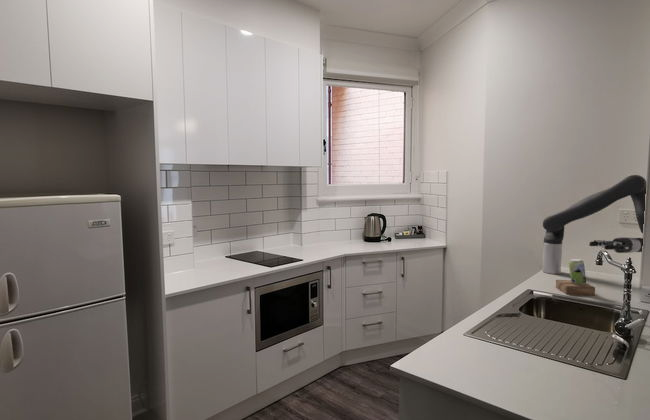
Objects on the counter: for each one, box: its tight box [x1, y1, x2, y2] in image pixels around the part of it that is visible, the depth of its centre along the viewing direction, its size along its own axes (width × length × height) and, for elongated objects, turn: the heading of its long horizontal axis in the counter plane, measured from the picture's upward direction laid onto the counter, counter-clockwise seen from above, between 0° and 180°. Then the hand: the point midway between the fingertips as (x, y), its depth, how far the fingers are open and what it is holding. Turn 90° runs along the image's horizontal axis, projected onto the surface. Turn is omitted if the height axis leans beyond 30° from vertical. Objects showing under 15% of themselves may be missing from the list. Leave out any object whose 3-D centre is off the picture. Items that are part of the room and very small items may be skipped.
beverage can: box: [568, 258, 587, 285], centre depth 182 cm, size 6×7×12 cm
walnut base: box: [555, 279, 596, 297], centre depth 184 cm, size 12×12×4 cm
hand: (597, 245), depth 185 cm, fingers open, 8 cm apart
